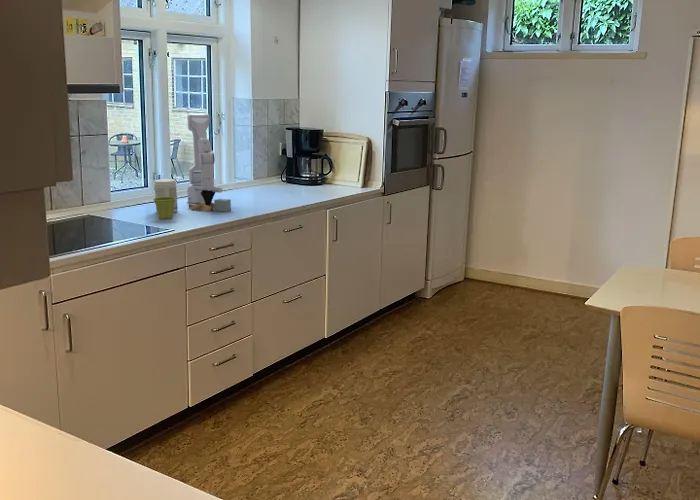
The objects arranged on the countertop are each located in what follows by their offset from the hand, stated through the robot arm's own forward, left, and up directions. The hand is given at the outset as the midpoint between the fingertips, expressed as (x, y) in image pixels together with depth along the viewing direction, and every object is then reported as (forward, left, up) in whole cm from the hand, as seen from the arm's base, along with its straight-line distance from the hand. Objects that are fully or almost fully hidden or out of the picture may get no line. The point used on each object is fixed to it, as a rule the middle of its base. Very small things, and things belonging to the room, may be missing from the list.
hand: (208, 206), depth 325 cm
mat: (+7, 0, -1) cm, 7 cm away
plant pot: (-4, -27, -2) cm, 27 cm away
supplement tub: (-13, -14, -2) cm, 19 cm away
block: (+8, 0, -1) cm, 8 cm away
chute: (-2, 0, -1) cm, 2 cm away
